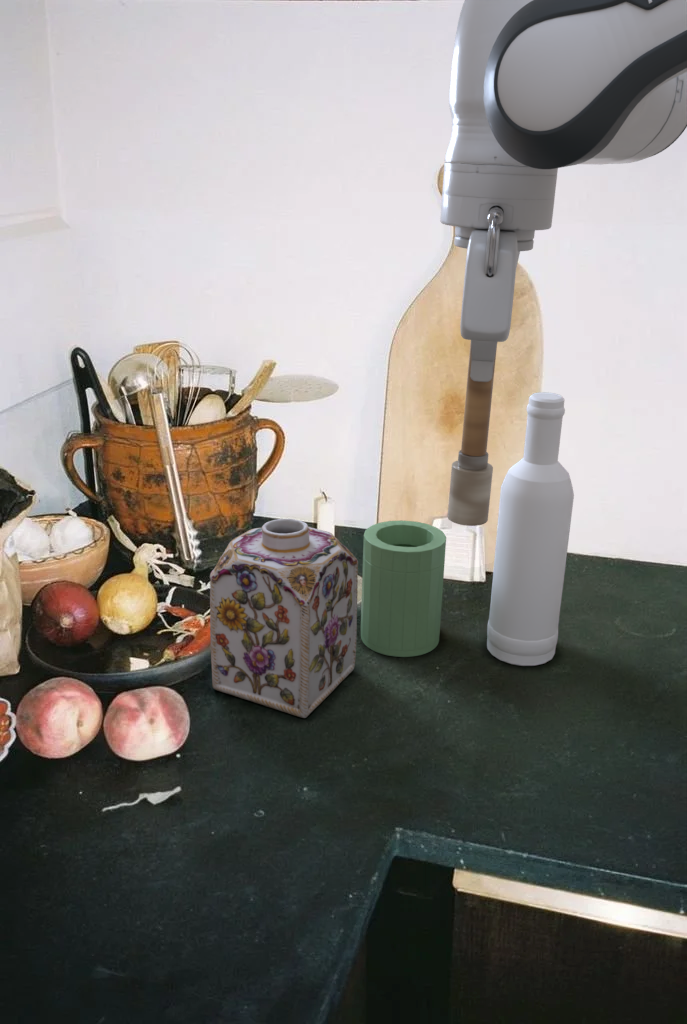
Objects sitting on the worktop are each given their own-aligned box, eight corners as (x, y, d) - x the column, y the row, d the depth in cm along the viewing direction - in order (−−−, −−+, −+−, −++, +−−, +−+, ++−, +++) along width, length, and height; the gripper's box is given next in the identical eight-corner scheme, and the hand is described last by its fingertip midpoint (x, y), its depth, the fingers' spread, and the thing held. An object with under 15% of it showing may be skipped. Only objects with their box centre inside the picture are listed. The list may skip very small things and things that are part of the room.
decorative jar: (305, 722, 93) (307, 557, 87) (208, 691, 98) (203, 533, 92) (358, 668, 103) (363, 516, 97) (268, 643, 108) (267, 496, 102)
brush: (488, 513, 86) (508, 312, 79) (487, 527, 82) (508, 319, 76) (448, 509, 86) (465, 309, 79) (446, 523, 83) (463, 316, 76)
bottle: (509, 672, 103) (536, 408, 92) (472, 640, 110) (493, 390, 99) (569, 659, 106) (602, 401, 95) (530, 628, 113) (556, 384, 102)
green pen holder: (441, 623, 114) (448, 524, 109) (435, 661, 105) (443, 555, 100) (366, 615, 115) (370, 517, 110) (355, 652, 107) (358, 547, 102)
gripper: (542, 214, 64) (520, 409, 69) (534, 198, 83) (517, 353, 88) (449, 209, 65) (435, 402, 70) (462, 195, 84) (450, 348, 89)
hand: (481, 374), depth 79 cm, fingers closed on brush, 2 cm apart
